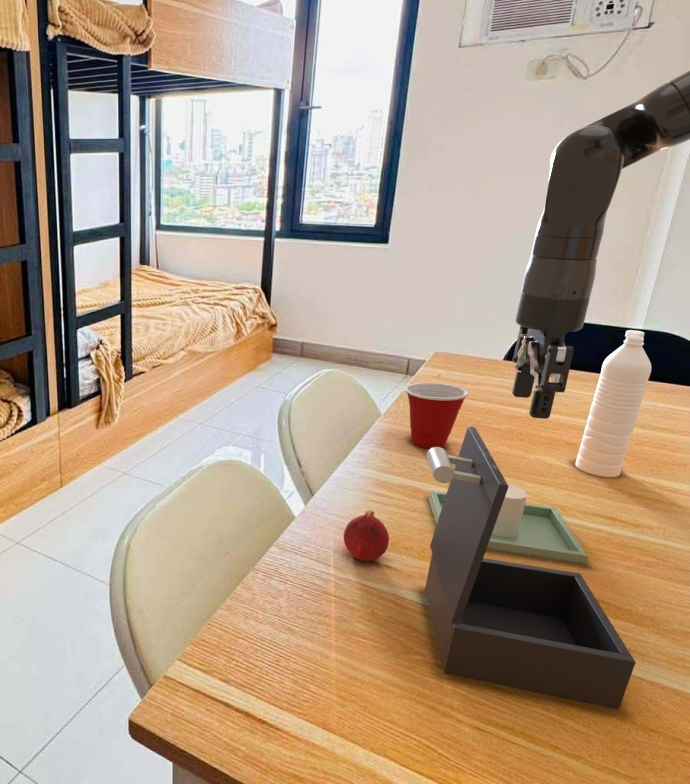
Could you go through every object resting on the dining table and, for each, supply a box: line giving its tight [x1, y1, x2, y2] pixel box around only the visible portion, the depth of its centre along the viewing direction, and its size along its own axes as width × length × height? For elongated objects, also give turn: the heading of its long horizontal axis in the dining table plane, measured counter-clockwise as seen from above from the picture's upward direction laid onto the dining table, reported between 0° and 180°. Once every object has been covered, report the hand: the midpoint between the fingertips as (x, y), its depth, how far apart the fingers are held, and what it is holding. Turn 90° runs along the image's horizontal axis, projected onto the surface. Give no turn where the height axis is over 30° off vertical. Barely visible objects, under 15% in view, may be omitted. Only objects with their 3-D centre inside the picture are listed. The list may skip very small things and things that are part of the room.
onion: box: [342, 509, 390, 562], centre depth 87 cm, size 6×6×8 cm
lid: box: [426, 425, 509, 625], centre depth 69 cm, size 17×15×5 cm
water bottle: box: [574, 329, 652, 478], centre depth 110 cm, size 9×6×25 cm
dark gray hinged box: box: [424, 554, 636, 710], centre depth 71 cm, size 16×15×7 cm
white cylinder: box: [492, 483, 528, 537], centre depth 93 cm, size 5×5×6 cm
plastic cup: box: [404, 382, 469, 450], centre depth 122 cm, size 11×11×12 cm
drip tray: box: [428, 490, 589, 565], centre depth 94 cm, size 18×14×2 cm
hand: (529, 406), depth 88 cm, fingers open, 8 cm apart
